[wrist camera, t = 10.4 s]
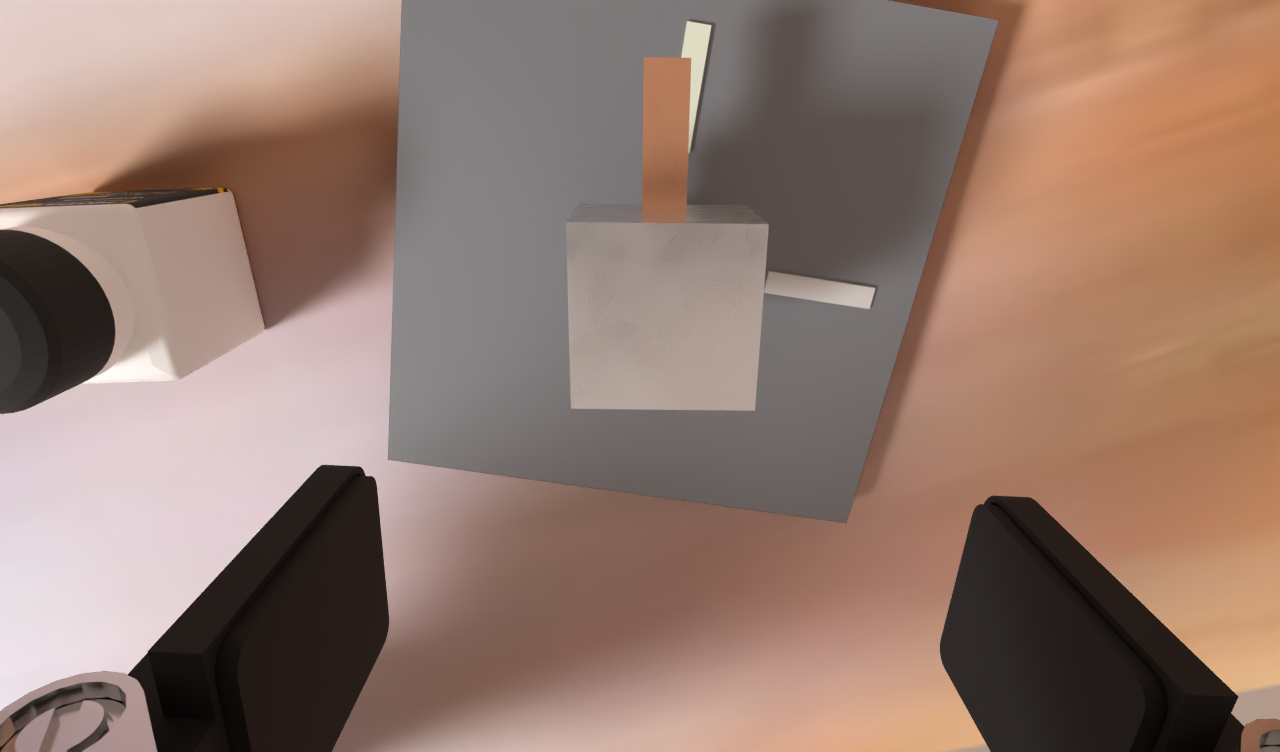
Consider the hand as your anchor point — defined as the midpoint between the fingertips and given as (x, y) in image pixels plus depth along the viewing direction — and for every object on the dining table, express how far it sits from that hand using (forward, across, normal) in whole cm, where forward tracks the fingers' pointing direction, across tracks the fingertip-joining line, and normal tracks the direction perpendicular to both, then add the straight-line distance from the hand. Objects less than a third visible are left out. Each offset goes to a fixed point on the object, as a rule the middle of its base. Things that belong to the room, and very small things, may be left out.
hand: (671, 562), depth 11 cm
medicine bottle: (+25, +23, +1) cm, 34 cm away
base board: (+24, 0, 0) cm, 24 cm away
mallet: (+18, 0, -3) cm, 18 cm away
